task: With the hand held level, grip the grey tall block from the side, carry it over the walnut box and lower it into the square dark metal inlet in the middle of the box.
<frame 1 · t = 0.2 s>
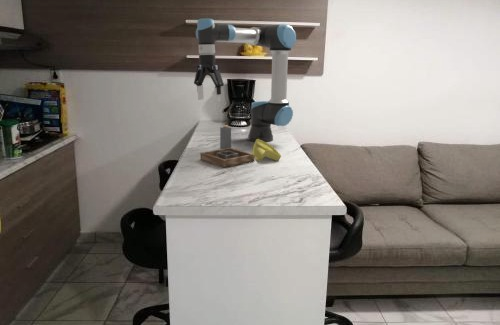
hand: (209, 100, 186), 27 cm above the table, tool pointing down, fingers open, 13 cm apart
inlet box: (227, 160, 184), on the table
plastic component: (265, 157, 193), on the table
grey tall block: (225, 149, 206), on the table
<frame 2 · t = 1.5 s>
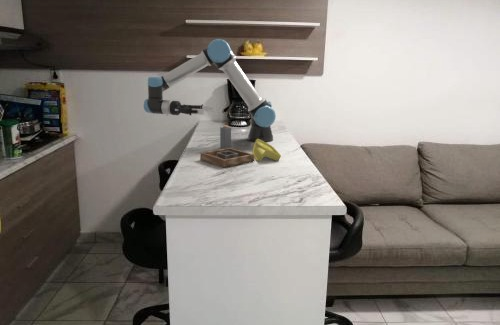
hand: (209, 110, 203), 20 cm above the table, tool horizontal, fingers open, 13 cm apart
nothing on the table moved.
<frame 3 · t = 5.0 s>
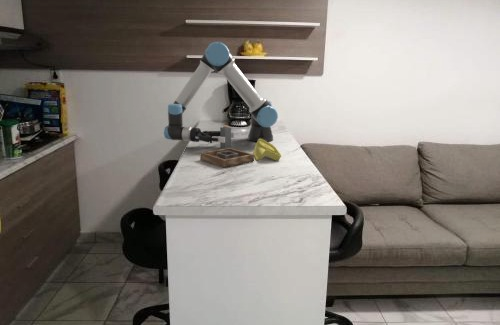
hand: (229, 137, 204), 7 cm above the table, tool horizontal, fingers open, 13 cm apart
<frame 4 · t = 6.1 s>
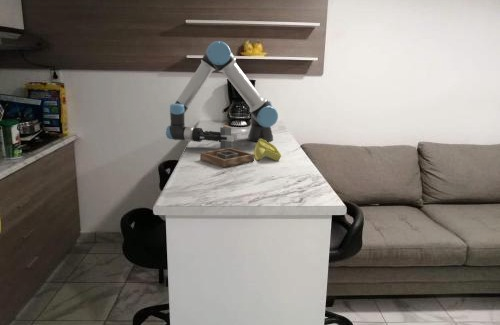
hand: (235, 137, 203), 7 cm above the table, tool horizontal, fingers closed on grey tall block, 5 cm apart
grey tall block: (225, 149, 206), on the table, touching gripper
everything else where it was.
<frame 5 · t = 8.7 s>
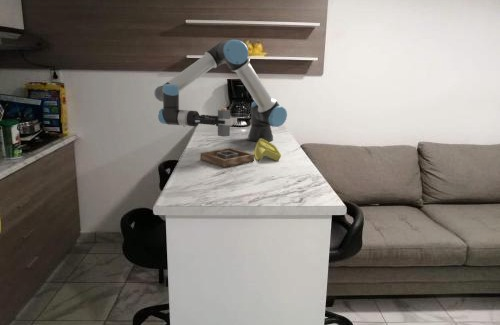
hand: (234, 121, 182), 18 cm above the table, tool horizontal, fingers closed on grey tall block, 5 cm apart
grey tall block: (223, 135, 185), point 11 cm above the table, touching gripper
when the fingers open (10 cm above the table, at t = 11.3 s): grey tall block drops 2 cm, resting on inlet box.
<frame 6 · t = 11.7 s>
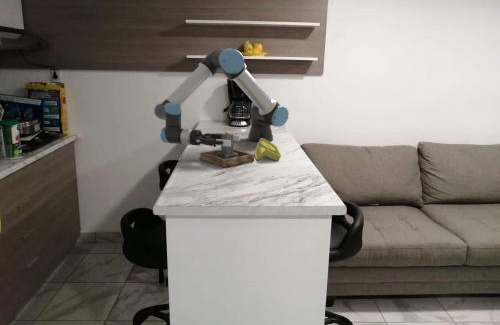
hand: (234, 140, 181), 10 cm above the table, tool horizontal, fingers open, 12 cm apart
grey tall block: (227, 159, 184), point 1 cm above the table, touching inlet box
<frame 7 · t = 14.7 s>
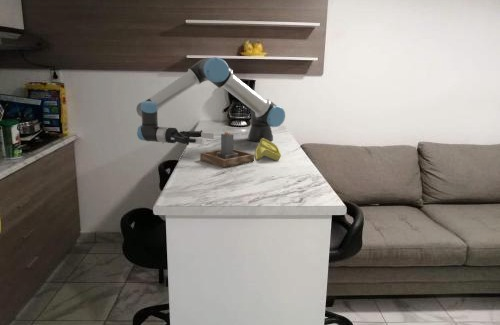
hand: (208, 138, 184), 10 cm above the table, tool horizontal, fingers open, 13 cm apart
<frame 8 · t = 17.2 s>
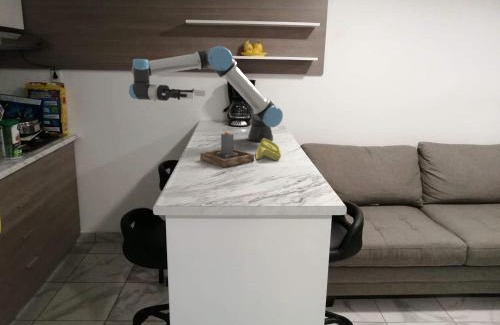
hand: (200, 94, 184), 30 cm above the table, tool horizontal, fingers open, 13 cm apart
at the end: grey tall block 0.1 cm off-centre on the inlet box, point 0.8 cm above the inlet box's base; grey tall block tilted 0°; the gripper is holding nothing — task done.
